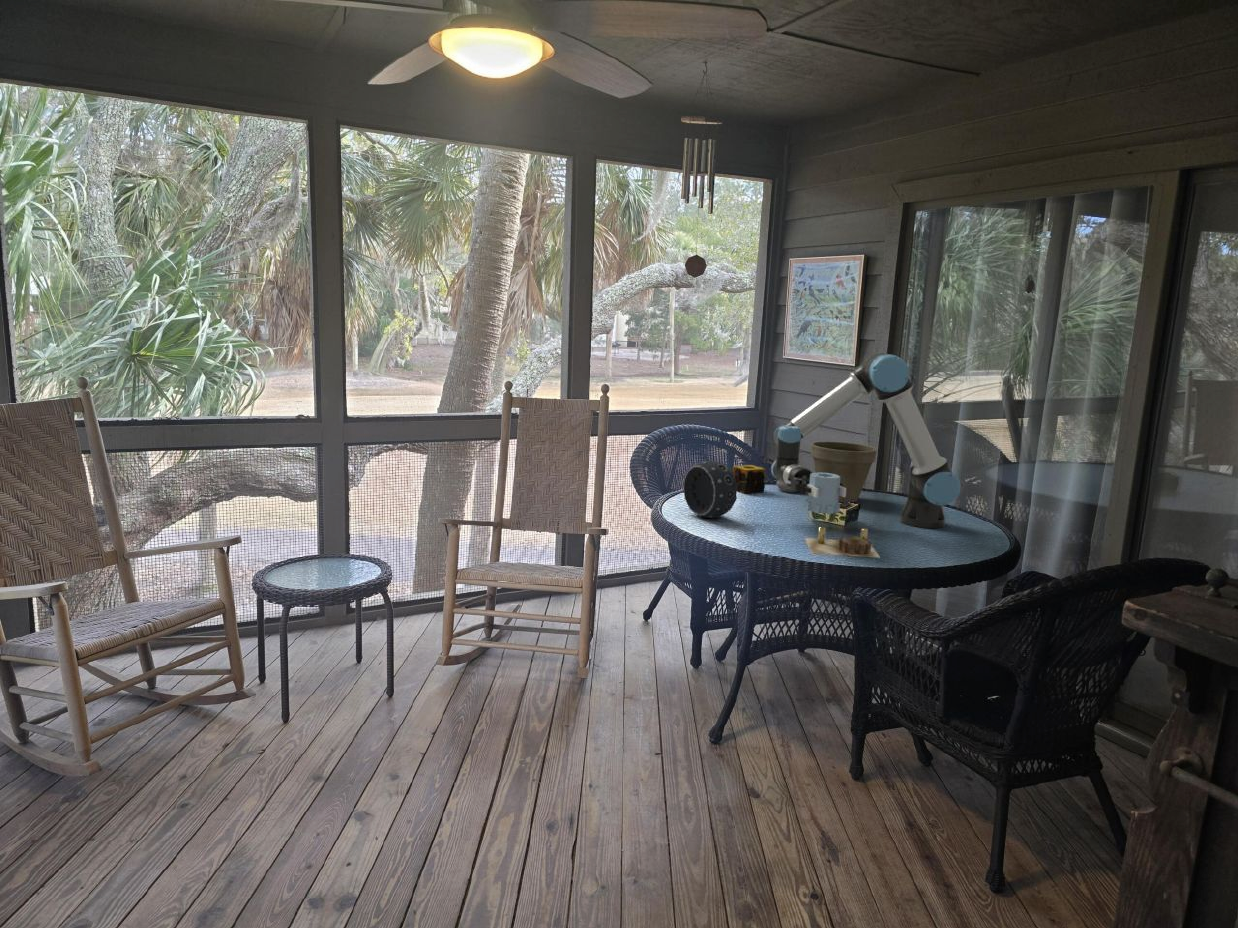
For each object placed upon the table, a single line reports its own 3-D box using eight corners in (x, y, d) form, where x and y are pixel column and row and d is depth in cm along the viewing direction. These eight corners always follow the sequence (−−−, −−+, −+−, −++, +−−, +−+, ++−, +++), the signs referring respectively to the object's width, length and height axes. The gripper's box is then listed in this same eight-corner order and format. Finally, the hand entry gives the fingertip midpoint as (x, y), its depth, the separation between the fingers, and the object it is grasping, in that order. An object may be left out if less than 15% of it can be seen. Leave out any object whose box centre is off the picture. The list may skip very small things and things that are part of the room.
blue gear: (829, 505, 256) (832, 471, 254) (845, 513, 246) (848, 478, 244) (799, 506, 253) (802, 472, 251) (814, 514, 243) (817, 478, 241)
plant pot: (869, 495, 329) (874, 443, 325) (874, 508, 306) (879, 452, 302) (807, 490, 335) (811, 439, 331) (807, 503, 311) (811, 448, 307)
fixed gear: (867, 547, 247) (868, 534, 246) (873, 555, 238) (874, 542, 237) (836, 545, 248) (837, 532, 247) (841, 553, 239) (842, 540, 238)
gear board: (868, 546, 254) (868, 541, 254) (879, 562, 237) (880, 557, 237) (804, 542, 256) (804, 537, 256) (810, 557, 239) (811, 553, 239)
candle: (744, 494, 323) (746, 470, 321) (730, 489, 332) (731, 465, 330) (765, 492, 328) (766, 468, 326) (750, 487, 336) (751, 464, 335)
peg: (824, 542, 251) (825, 526, 250) (824, 544, 249) (826, 528, 248) (817, 541, 251) (818, 526, 250) (818, 543, 249) (819, 528, 248)
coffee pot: (789, 486, 341) (791, 452, 338) (809, 492, 332) (812, 456, 329) (753, 491, 329) (755, 455, 326) (773, 497, 320) (776, 460, 317)
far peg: (865, 544, 251) (867, 528, 250) (867, 545, 249) (868, 530, 248) (859, 543, 251) (860, 528, 250) (860, 545, 249) (862, 529, 248)
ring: (714, 525, 273) (718, 467, 270) (679, 512, 290) (681, 457, 286) (738, 521, 279) (742, 465, 275) (702, 509, 296) (705, 455, 292)
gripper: (827, 488, 269) (861, 504, 247) (768, 489, 264) (797, 505, 242) (829, 466, 267) (864, 480, 245) (769, 466, 262) (799, 481, 241)
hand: (831, 492), depth 244 cm, fingers closed on blue gear, 8 cm apart
